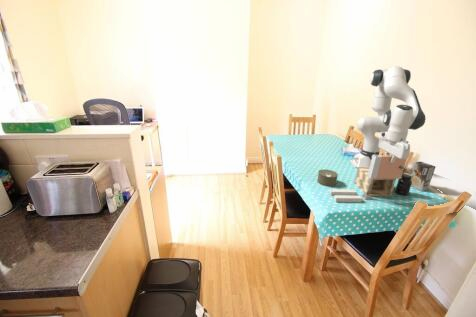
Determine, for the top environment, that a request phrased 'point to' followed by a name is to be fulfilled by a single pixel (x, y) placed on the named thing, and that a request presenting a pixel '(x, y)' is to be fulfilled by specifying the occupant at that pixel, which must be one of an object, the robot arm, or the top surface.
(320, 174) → the can
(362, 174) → the cabinet
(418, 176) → the coffee box
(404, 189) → the supplement bottle
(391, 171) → the door
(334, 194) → the door stand
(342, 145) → the top surface
